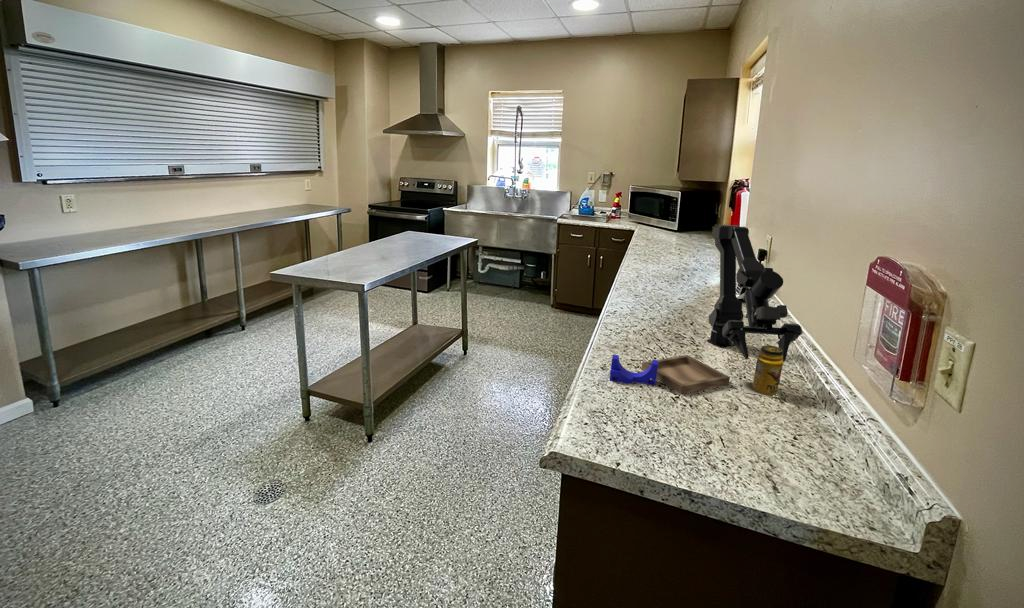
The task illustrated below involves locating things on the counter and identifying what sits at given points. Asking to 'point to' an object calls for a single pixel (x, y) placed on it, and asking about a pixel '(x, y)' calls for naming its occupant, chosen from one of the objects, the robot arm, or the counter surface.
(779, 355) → the condiment
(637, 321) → the counter surface
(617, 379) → the cable clip
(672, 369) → the dock holder
